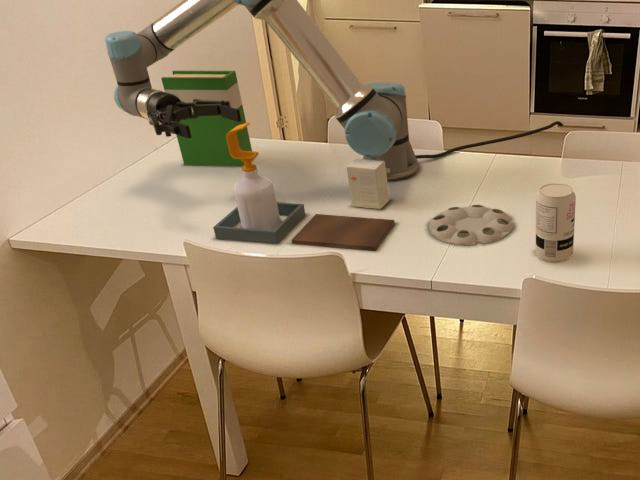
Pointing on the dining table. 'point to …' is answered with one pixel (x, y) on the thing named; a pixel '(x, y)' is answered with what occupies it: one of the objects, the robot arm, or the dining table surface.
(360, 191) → the small box
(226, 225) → the square frame
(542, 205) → the supplement can
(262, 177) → the soap bottle
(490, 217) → the paint palette
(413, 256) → the dining table surface
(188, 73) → the hardback book
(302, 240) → the walnut board
